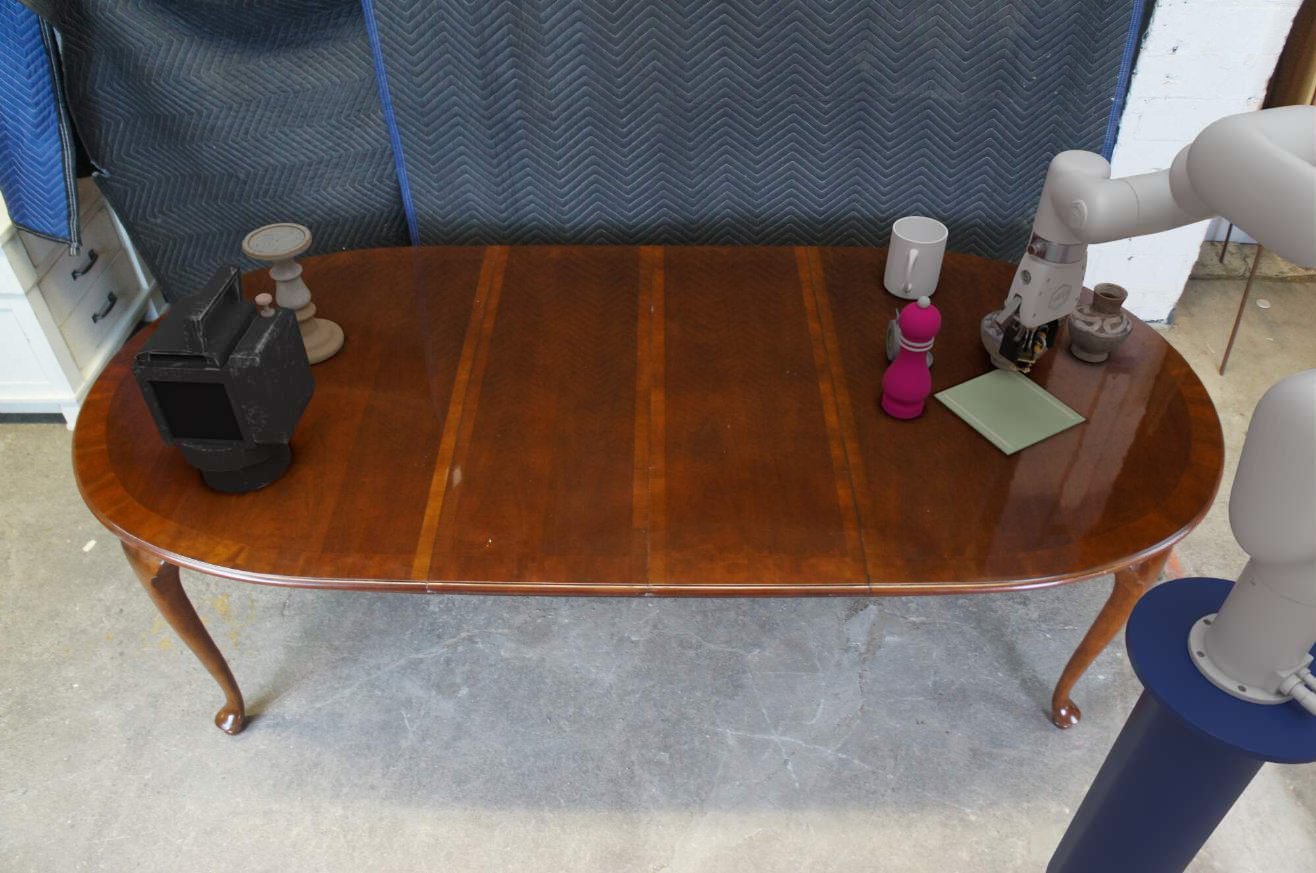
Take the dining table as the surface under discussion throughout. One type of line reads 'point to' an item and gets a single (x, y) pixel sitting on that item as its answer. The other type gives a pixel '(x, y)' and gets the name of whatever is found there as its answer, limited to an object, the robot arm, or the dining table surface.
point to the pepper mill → (911, 361)
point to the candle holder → (294, 284)
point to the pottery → (1076, 327)
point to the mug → (915, 257)
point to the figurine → (1027, 353)
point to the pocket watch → (894, 344)
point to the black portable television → (227, 382)
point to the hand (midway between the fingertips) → (1025, 350)
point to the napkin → (1009, 409)
